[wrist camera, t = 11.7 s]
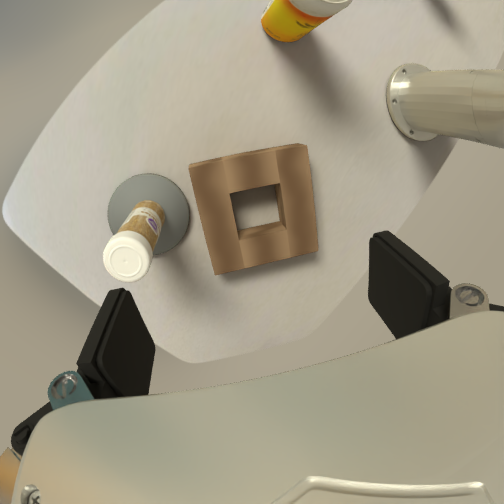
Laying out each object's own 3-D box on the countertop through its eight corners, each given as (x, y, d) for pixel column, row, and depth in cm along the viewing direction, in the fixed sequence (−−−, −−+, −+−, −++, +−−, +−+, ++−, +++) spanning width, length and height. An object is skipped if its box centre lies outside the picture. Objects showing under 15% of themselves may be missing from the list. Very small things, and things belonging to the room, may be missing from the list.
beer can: (296, 50, 32) (349, 18, 18) (252, 32, 30) (284, -14, 16) (311, 17, 30) (366, -24, 16) (269, -2, 28) (306, -54, 14)
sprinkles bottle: (172, 214, 37) (160, 260, 25) (150, 239, 38) (131, 293, 26) (145, 191, 36) (119, 227, 24) (124, 217, 36) (93, 263, 24)
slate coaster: (178, 164, 36) (177, 164, 35) (197, 242, 40) (197, 244, 40) (99, 186, 35) (97, 188, 34) (123, 260, 40) (122, 262, 39)
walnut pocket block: (298, 143, 37) (307, 145, 34) (309, 241, 43) (318, 250, 40) (189, 164, 36) (188, 168, 33) (213, 263, 42) (215, 275, 39)
